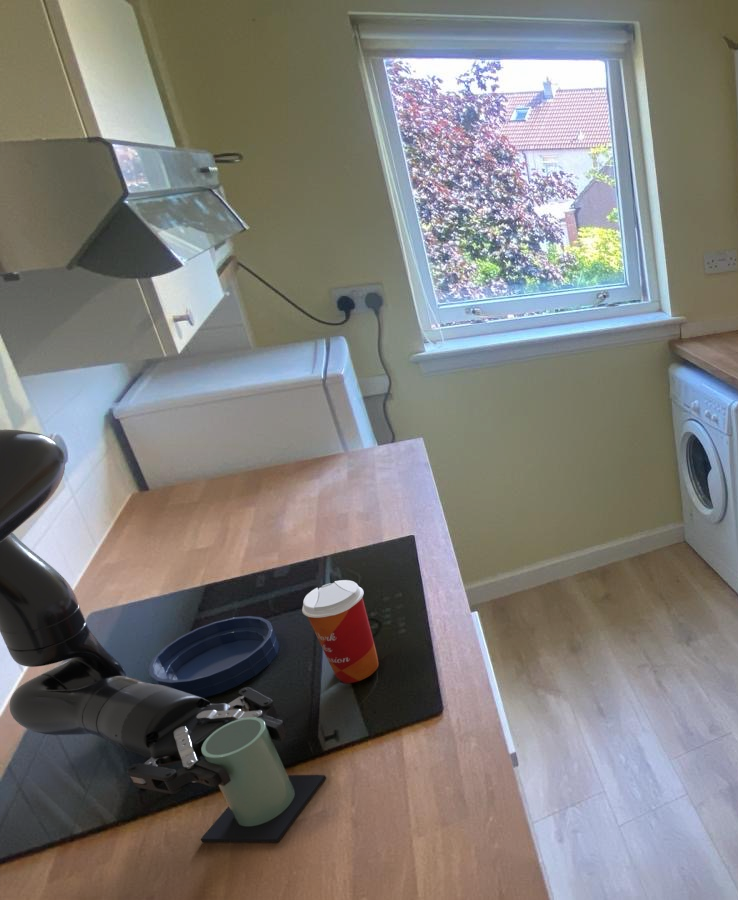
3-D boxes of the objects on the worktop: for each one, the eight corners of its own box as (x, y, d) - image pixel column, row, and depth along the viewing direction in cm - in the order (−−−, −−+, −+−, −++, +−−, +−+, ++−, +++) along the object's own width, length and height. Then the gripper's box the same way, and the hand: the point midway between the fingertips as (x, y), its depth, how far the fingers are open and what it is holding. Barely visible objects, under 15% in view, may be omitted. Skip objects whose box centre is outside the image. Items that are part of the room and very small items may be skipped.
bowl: (189, 717, 102) (178, 695, 101) (140, 682, 109) (129, 661, 107) (300, 654, 114) (292, 633, 112) (249, 626, 121) (241, 606, 119)
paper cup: (323, 669, 110) (294, 592, 105) (379, 646, 115) (354, 571, 109) (335, 696, 105) (305, 617, 99) (393, 671, 110) (367, 594, 104)
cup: (226, 832, 84) (190, 763, 80) (247, 790, 90) (214, 723, 85) (285, 819, 86) (253, 750, 81) (301, 778, 91) (273, 712, 86)
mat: (202, 842, 84) (200, 839, 84) (256, 778, 92) (255, 774, 92) (278, 842, 84) (276, 839, 83) (326, 778, 92) (325, 774, 92)
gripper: (72, 741, 81) (175, 780, 76) (205, 657, 93) (302, 686, 88) (101, 790, 84) (202, 830, 79) (226, 702, 96) (321, 732, 91)
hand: (254, 754), depth 83 cm, fingers closed on cup, 6 cm apart
